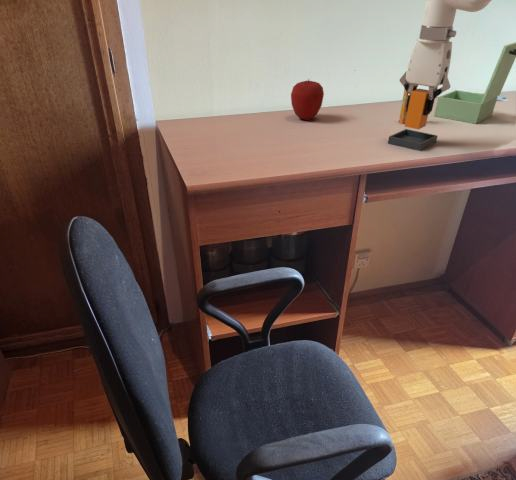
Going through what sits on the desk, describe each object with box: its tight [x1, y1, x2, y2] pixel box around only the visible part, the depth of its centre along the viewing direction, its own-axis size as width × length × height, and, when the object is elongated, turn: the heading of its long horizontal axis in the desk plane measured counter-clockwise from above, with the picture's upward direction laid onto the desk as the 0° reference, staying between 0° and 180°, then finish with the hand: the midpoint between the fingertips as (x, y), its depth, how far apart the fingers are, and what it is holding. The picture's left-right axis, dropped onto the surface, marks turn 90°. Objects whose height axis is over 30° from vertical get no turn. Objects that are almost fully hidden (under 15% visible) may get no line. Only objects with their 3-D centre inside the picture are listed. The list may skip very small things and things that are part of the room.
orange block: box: [404, 88, 429, 130], centre depth 126 cm, size 4×4×9 cm
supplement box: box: [398, 88, 408, 125], centre depth 144 cm, size 3×3×10 cm
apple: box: [290, 78, 325, 121], centre depth 147 cm, size 11×11×12 cm
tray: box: [387, 128, 438, 152], centre depth 131 cm, size 10×10×2 cm
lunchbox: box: [433, 89, 498, 125], centre depth 152 cm, size 15×14×6 cm
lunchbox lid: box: [481, 41, 516, 103], centre depth 140 cm, size 15×14×6 cm
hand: (418, 112), depth 126 cm, fingers closed on orange block, 4 cm apart
